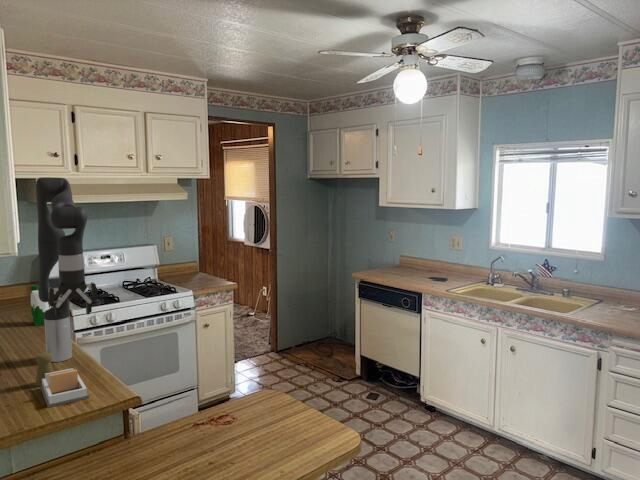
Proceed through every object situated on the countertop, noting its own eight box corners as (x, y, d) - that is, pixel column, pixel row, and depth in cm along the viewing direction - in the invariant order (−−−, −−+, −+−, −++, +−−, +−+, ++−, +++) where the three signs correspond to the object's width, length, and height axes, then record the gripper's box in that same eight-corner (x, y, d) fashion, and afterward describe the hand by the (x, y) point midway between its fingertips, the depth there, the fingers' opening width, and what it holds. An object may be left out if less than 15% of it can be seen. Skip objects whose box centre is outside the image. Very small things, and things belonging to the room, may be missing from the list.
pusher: (48, 390, 163) (47, 373, 163) (76, 384, 168) (75, 367, 168) (50, 393, 161) (49, 376, 160) (78, 387, 166) (77, 370, 165)
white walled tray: (40, 388, 168) (39, 374, 167) (78, 380, 175) (77, 367, 174) (47, 407, 153) (47, 392, 153) (88, 398, 160) (88, 383, 160)
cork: (46, 387, 168) (44, 357, 167) (31, 386, 170) (29, 355, 168) (59, 380, 174) (57, 351, 173) (44, 379, 176) (43, 350, 174)
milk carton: (31, 322, 247) (29, 284, 245) (51, 320, 252) (49, 282, 250) (32, 326, 240) (30, 287, 238) (53, 324, 245) (51, 285, 243)
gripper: (92, 264, 165) (94, 310, 167) (45, 268, 156) (47, 316, 158) (97, 267, 159) (99, 315, 161) (48, 271, 150) (51, 322, 152)
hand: (73, 316), depth 159 cm, fingers open, 8 cm apart
